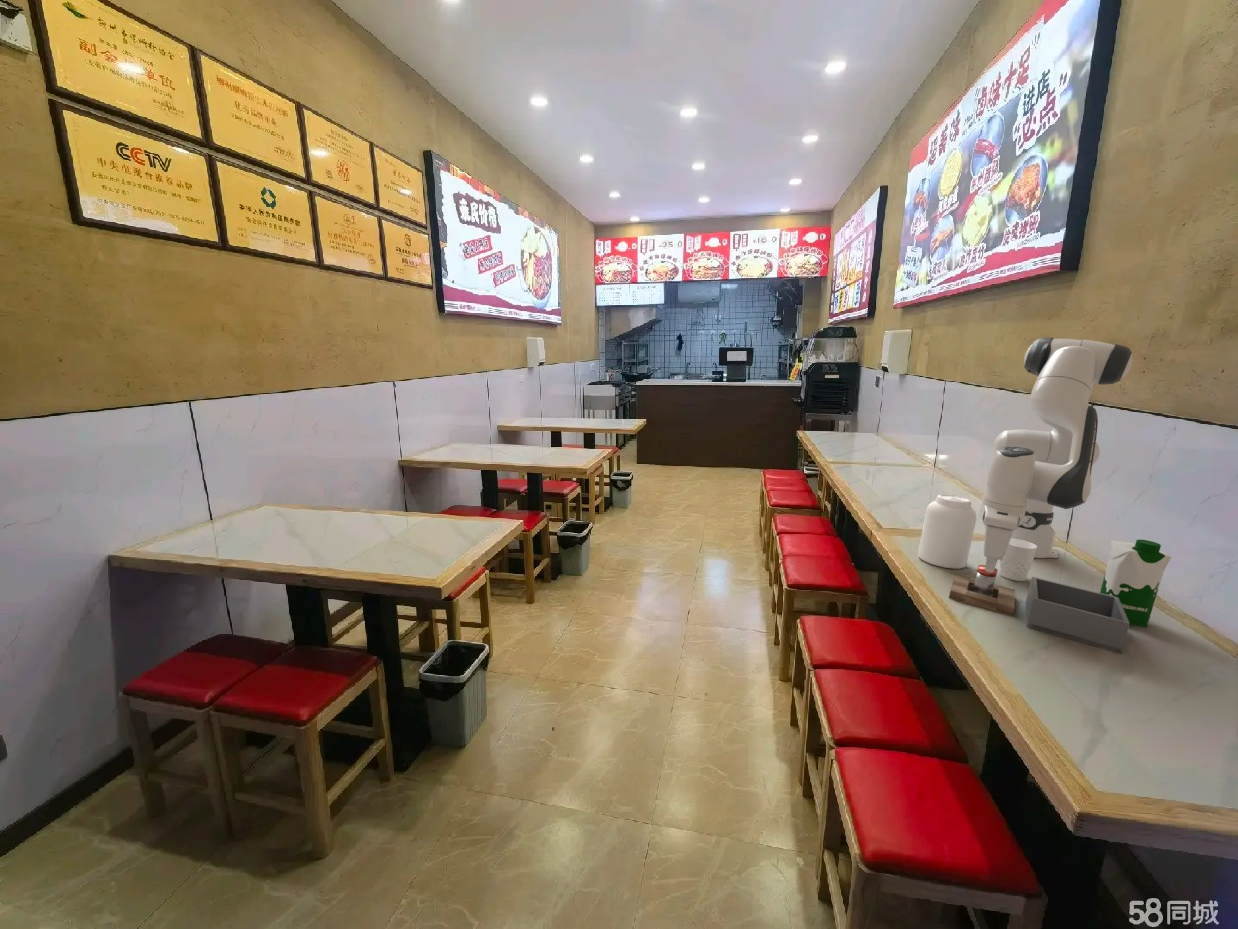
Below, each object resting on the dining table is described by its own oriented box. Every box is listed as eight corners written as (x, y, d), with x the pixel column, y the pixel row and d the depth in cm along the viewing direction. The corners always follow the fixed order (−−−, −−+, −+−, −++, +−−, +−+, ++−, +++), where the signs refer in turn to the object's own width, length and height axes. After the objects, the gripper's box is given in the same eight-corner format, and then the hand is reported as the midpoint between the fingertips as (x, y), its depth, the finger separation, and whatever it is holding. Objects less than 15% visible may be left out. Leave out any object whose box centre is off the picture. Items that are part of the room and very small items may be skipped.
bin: (1025, 602, 129) (1032, 576, 128) (1110, 624, 120) (1118, 597, 119) (1026, 626, 117) (1033, 598, 116) (1120, 653, 108) (1129, 623, 106)
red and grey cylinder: (972, 592, 134) (978, 563, 132) (991, 597, 131) (997, 568, 130) (971, 597, 131) (977, 568, 129) (990, 602, 128) (997, 573, 126)
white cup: (1035, 584, 141) (1043, 550, 139) (1003, 580, 142) (1011, 546, 140) (1019, 572, 148) (1027, 539, 146) (989, 568, 150) (996, 536, 148)
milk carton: (1107, 622, 121) (1130, 542, 117) (1087, 605, 130) (1108, 530, 125) (1154, 630, 119) (1180, 549, 114) (1131, 612, 127) (1154, 536, 123)
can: (970, 573, 146) (985, 506, 142) (920, 564, 150) (933, 499, 146) (960, 557, 157) (973, 495, 153) (914, 550, 162) (926, 489, 157)
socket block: (953, 581, 140) (955, 574, 139) (1013, 596, 132) (1014, 589, 132) (948, 597, 130) (950, 590, 129) (1012, 615, 122) (1014, 607, 122)
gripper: (987, 502, 136) (976, 551, 139) (984, 518, 120) (972, 574, 122) (1017, 507, 132) (1005, 557, 135) (1018, 525, 116) (1004, 582, 119)
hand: (989, 565), depth 129 cm, fingers open, 8 cm apart
